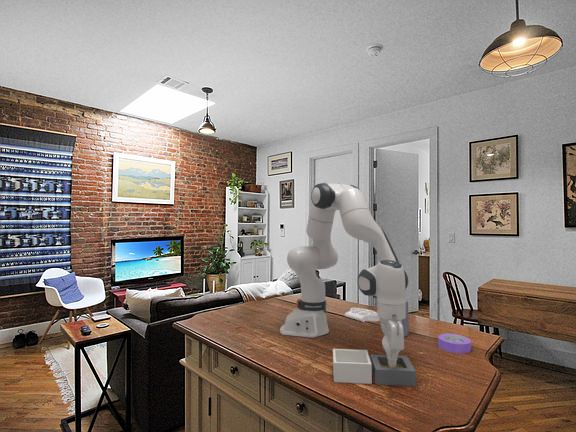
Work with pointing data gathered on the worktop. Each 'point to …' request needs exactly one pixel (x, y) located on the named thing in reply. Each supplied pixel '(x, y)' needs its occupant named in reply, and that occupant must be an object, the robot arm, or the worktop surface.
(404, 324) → the container
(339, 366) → the bin
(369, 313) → the white brass knuckles
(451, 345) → the masking tape
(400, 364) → the contact pad
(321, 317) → the robot arm
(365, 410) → the worktop surface
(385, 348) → the lightbulb
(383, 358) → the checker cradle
